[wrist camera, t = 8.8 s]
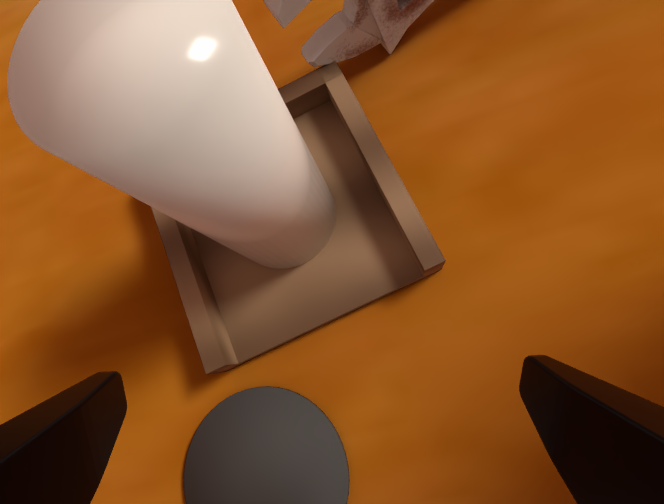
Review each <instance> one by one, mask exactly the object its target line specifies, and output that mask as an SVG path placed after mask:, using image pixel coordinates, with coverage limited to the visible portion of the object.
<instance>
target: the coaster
mask: <svg viewBox="0 0 664 504" xmlns="http://www.w3.org/2000/svg"><path fill="white" fill-rule="evenodd" d="M184 492H185V500H186V504H347V500H348V494H349V469H348V463H347V457H346V453H345V450H344V447H343V444H342V441H341V439H340V437H339V435H338V433H337V431H336V429H335V428H334V426H333V424H332V423H331V421H330V420H329V419H328V417H327V416H326V415H325V414H324V413H323V412H322V411H321V410H320V409H319V408H318V407H317V406H316V405H315V404H314V403H312V402H311V401H310V400H308V399H307V398H305V397H303V396H302V395H300V394H298V393H296V392H293V391H290V390H288V389H283V388H279V387H269V386H267V387H256V388H251V389H247V390H244V391H241V392H238V393H236V394H234V395H232V396H230V397H228V398H226V399H225V400H223V401H222V402H221V403H219V404H218V405H217V406H216V407H215V408H214V409H212V410H211V411H210V412H209V414H208V415H207V416H206V417H205V418H204V420H203V421H202V423H201V424H200V426H199V427H198V429H197V431H196V433H195V435H194V437H193V439H192V441H191V444H190V447H189V450H188V454H187V458H186V462H185V470H184Z"/></svg>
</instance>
